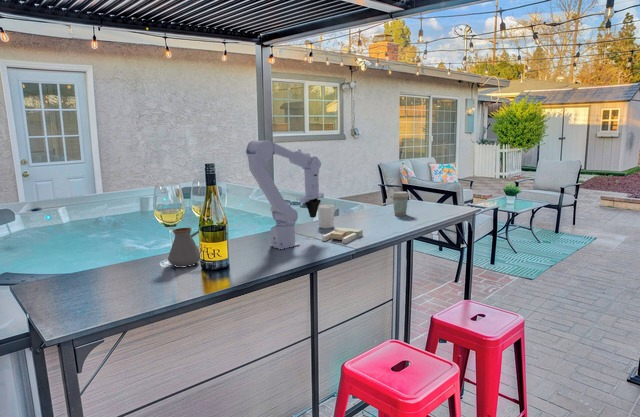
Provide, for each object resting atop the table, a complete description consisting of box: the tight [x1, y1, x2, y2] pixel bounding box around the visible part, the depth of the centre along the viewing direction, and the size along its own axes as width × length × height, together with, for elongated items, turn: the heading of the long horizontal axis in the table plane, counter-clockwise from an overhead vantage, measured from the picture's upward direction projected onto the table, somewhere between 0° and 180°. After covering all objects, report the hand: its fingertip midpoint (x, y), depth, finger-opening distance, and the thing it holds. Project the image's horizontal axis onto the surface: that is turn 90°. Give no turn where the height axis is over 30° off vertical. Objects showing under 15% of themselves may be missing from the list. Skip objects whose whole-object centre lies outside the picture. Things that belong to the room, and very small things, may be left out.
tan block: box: [331, 230, 349, 242], centre depth 180 cm, size 7×5×3 cm
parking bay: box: [321, 227, 363, 244], centre depth 181 cm, size 14×12×2 cm
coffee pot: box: [167, 227, 201, 266], centre depth 154 cm, size 21×12×15 cm, turn 128°
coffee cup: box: [391, 190, 409, 217], centre depth 223 cm, size 8×8×12 cm
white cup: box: [317, 204, 335, 229], centre depth 202 cm, size 8×8×10 cm
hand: (313, 217), depth 180 cm, fingers closed
